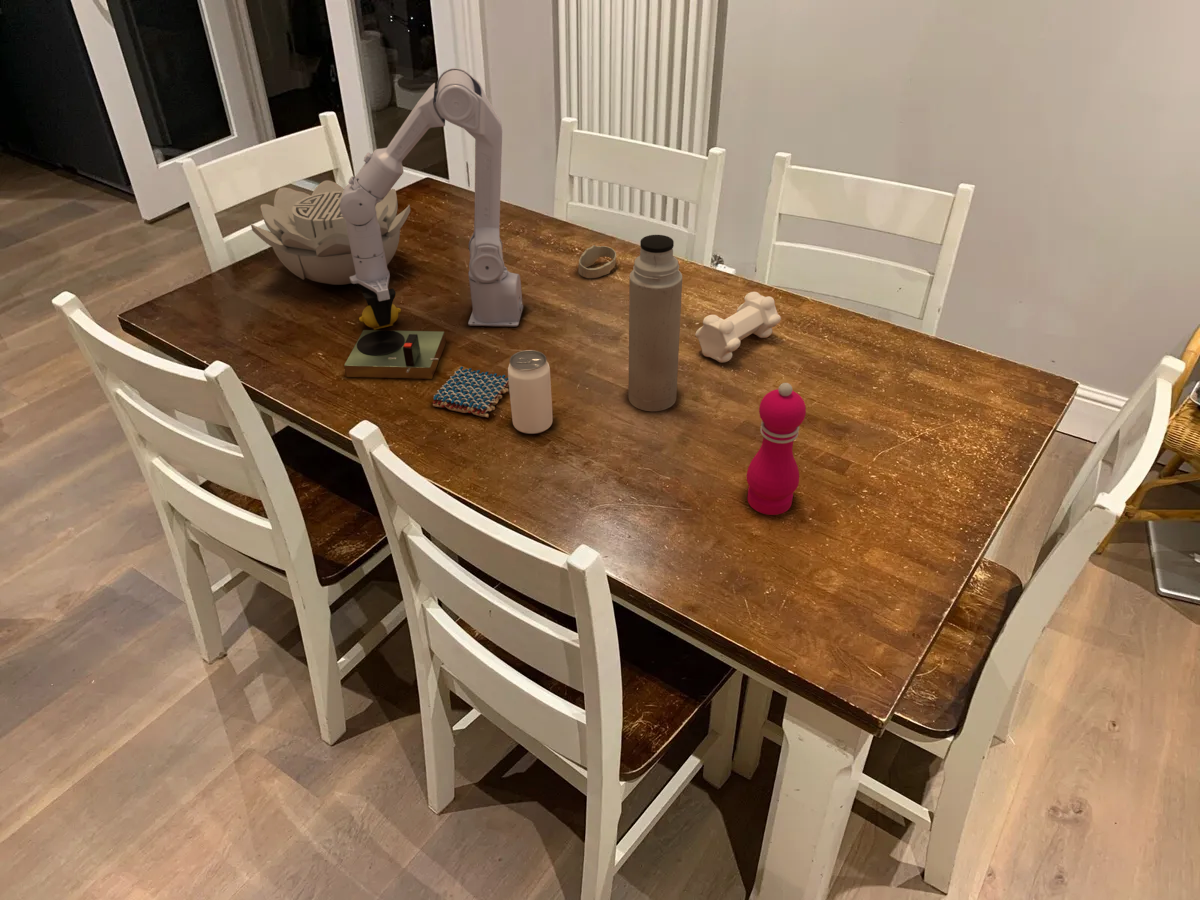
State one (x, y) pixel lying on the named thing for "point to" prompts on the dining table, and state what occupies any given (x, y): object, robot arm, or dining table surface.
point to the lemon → (371, 320)
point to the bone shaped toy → (737, 326)
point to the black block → (411, 349)
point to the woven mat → (471, 392)
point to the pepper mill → (776, 452)
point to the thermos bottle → (654, 325)
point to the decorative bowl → (322, 232)
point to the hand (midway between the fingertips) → (380, 318)
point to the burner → (380, 343)
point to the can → (530, 392)
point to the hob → (398, 359)
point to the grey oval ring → (590, 258)
